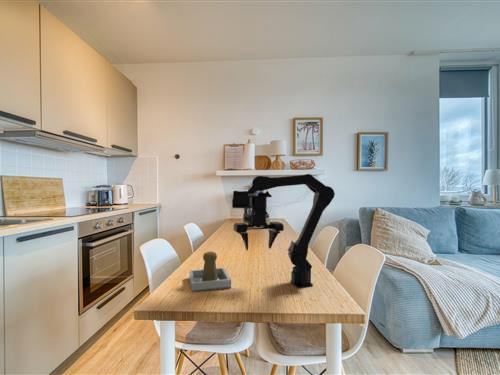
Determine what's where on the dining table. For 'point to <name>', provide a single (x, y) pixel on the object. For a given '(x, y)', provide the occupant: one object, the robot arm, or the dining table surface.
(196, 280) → the walled pen
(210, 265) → the cork
